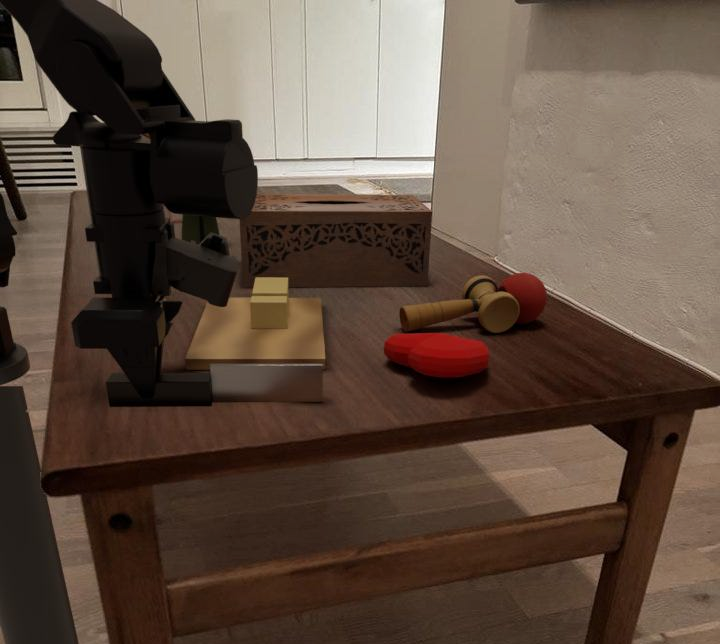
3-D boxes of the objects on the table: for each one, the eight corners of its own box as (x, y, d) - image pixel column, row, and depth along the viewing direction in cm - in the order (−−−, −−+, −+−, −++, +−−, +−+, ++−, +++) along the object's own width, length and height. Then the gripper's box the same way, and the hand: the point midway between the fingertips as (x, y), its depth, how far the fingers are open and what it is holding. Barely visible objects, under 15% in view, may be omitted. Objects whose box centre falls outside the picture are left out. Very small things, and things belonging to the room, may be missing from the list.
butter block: (253, 318, 85) (252, 292, 84) (256, 301, 91) (255, 277, 90) (288, 318, 85) (287, 293, 84) (288, 301, 91) (288, 277, 90)
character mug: (169, 253, 118) (160, 165, 111) (166, 243, 124) (158, 160, 117) (237, 250, 120) (232, 164, 114) (231, 241, 126) (226, 159, 120)
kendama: (419, 355, 83) (562, 322, 86) (411, 298, 81) (558, 267, 84) (397, 344, 90) (530, 314, 94) (389, 292, 88) (526, 263, 91)
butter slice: (251, 328, 82) (250, 302, 80) (252, 321, 84) (251, 295, 83) (287, 328, 82) (286, 302, 81) (287, 321, 84) (287, 295, 83)
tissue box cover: (243, 287, 101) (239, 211, 96) (244, 262, 113) (240, 193, 108) (427, 285, 104) (432, 211, 99) (408, 261, 117) (412, 194, 112)
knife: (109, 407, 66) (103, 369, 64) (114, 397, 67) (109, 360, 66) (322, 406, 67) (322, 368, 65) (322, 396, 69) (322, 359, 67)
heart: (458, 364, 82) (375, 365, 78) (462, 325, 80) (378, 324, 77) (518, 386, 71) (426, 388, 67) (524, 342, 70) (430, 341, 66)
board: (185, 370, 74) (184, 358, 73) (209, 306, 93) (209, 297, 92) (325, 369, 75) (325, 358, 74) (320, 307, 94) (320, 297, 93)
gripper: (217, 234, 51) (231, 437, 59) (238, 193, 67) (247, 355, 75) (52, 232, 50) (88, 438, 58) (113, 191, 66) (135, 356, 74)
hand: (150, 391), depth 66 cm, fingers closed on knife, 2 cm apart
